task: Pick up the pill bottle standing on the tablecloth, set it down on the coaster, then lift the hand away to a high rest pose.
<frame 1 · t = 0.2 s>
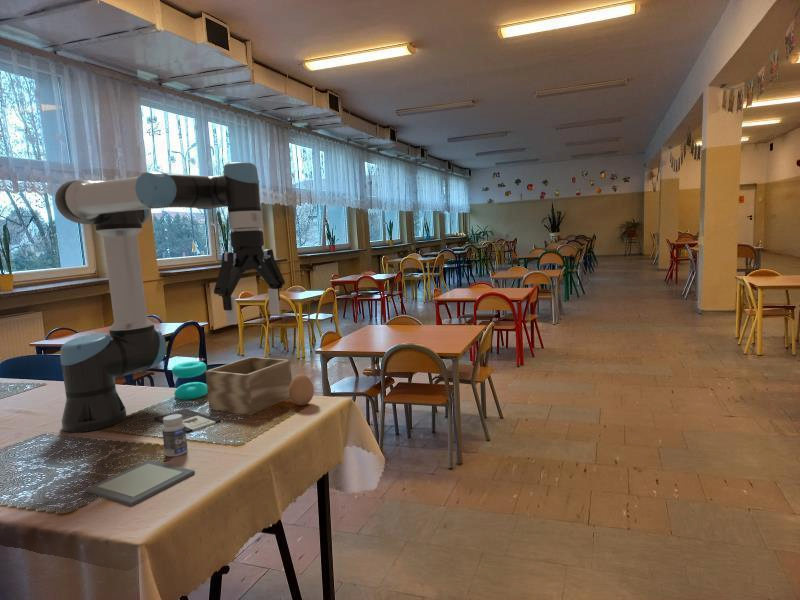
hand: (254, 319, 128), 27 cm above the table, fingers open, 13 cm apart
egg: (302, 405, 149), on the table
coaster: (141, 482, 105), on the table
donuts: (192, 396, 165), on the table
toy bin: (252, 402, 154), on the table
pill bottle: (176, 453, 120), on the table
chocolate bar: (186, 423, 141), on the table
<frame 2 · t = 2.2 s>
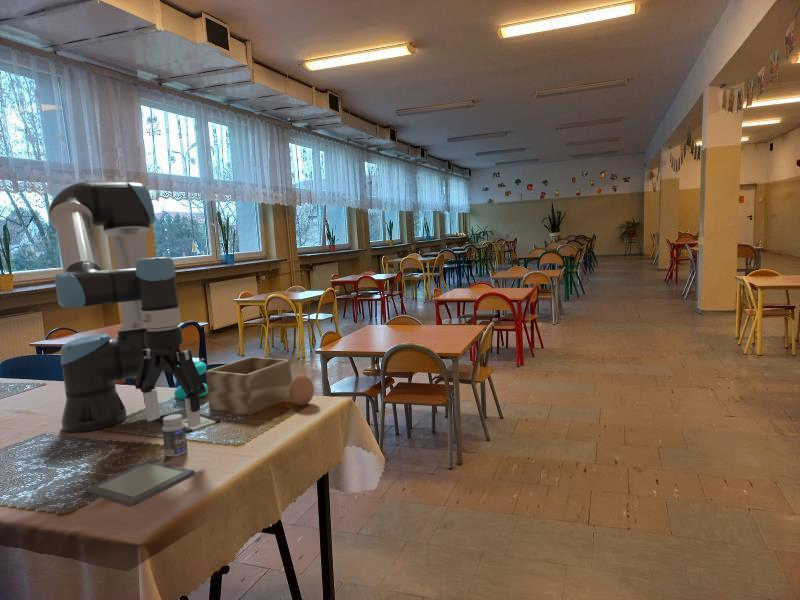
hand: (173, 422, 118), 7 cm above the table, fingers open, 13 cm apart
nothing on the table moved.
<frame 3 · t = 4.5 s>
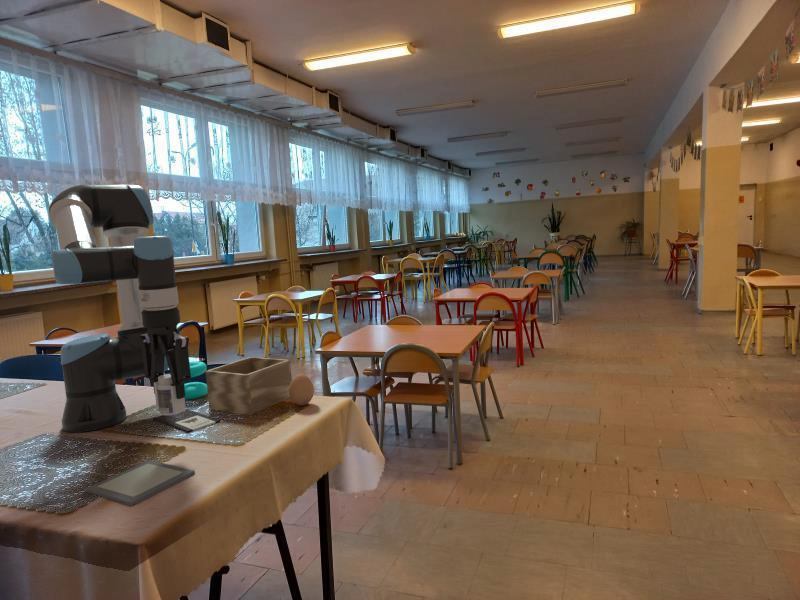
hand: (171, 410, 119), 10 cm above the table, fingers closed on pill bottle, 5 cm apart
pill bottle: (171, 413, 119), point 9 cm above the table, touching gripper
everything else where it was.
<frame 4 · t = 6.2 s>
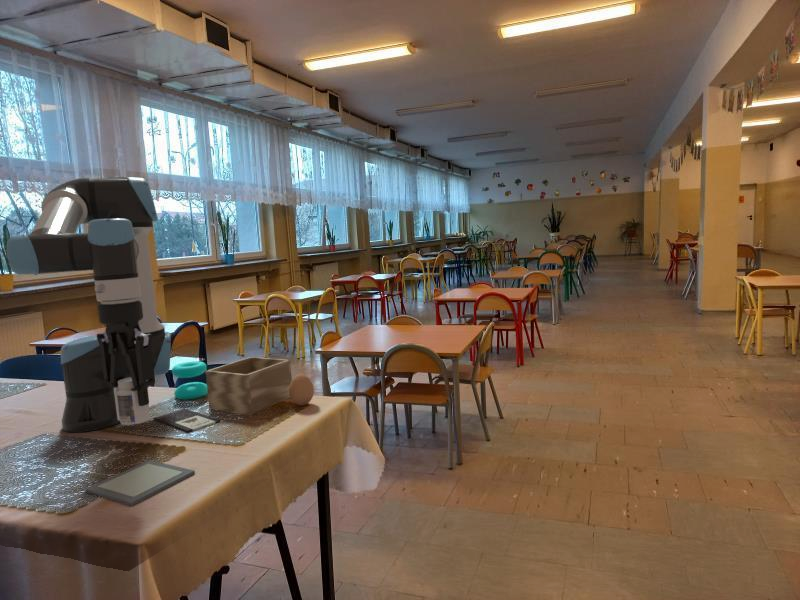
hand: (133, 419, 104), 13 cm above the table, fingers closed on pill bottle, 5 cm apart
pill bottle: (134, 422, 104), point 12 cm above the table, touching gripper
everything else where it was.
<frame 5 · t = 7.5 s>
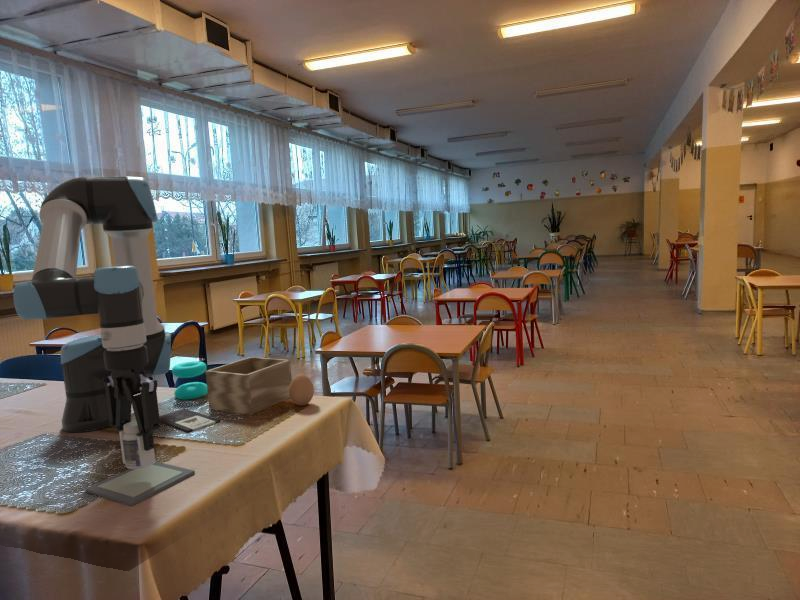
hand: (139, 462, 105), 4 cm above the table, fingers closed on pill bottle, 5 cm apart
pill bottle: (139, 465, 105), point 4 cm above the table, touching gripper
everything else where it was.
when the fingers open (1 cm above the table, at t = 8.3 s): pill bottle stays where it is, resting on coaster.
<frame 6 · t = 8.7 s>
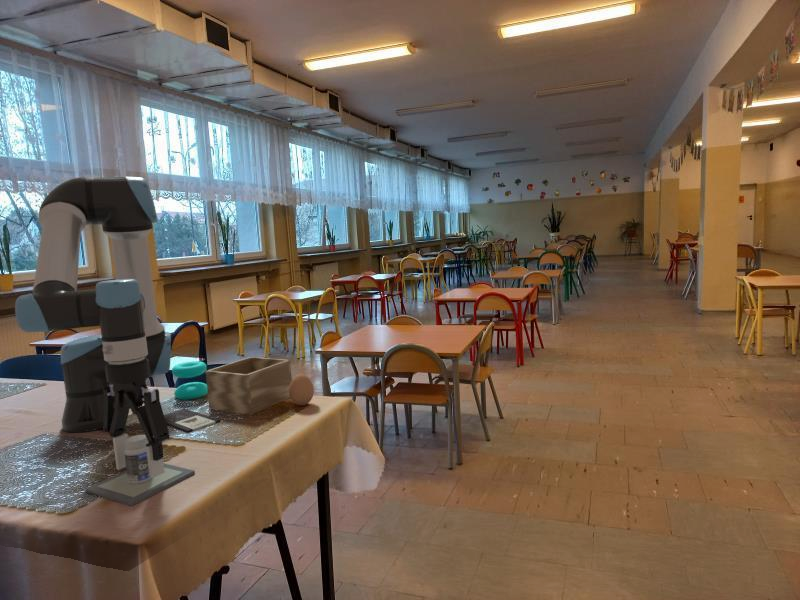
hand: (140, 470, 105), 2 cm above the table, fingers open, 9 cm apart
pill bottle: (141, 479, 105), point 1 cm above the table, touching coaster
everything else where it was.
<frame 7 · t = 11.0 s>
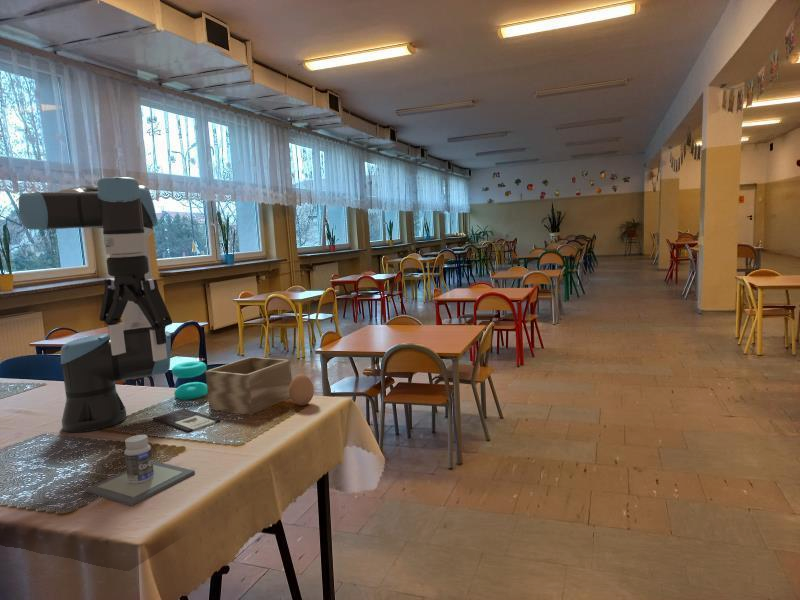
hand: (139, 356, 112), 23 cm above the table, fingers open, 13 cm apart
nothing on the table moved.
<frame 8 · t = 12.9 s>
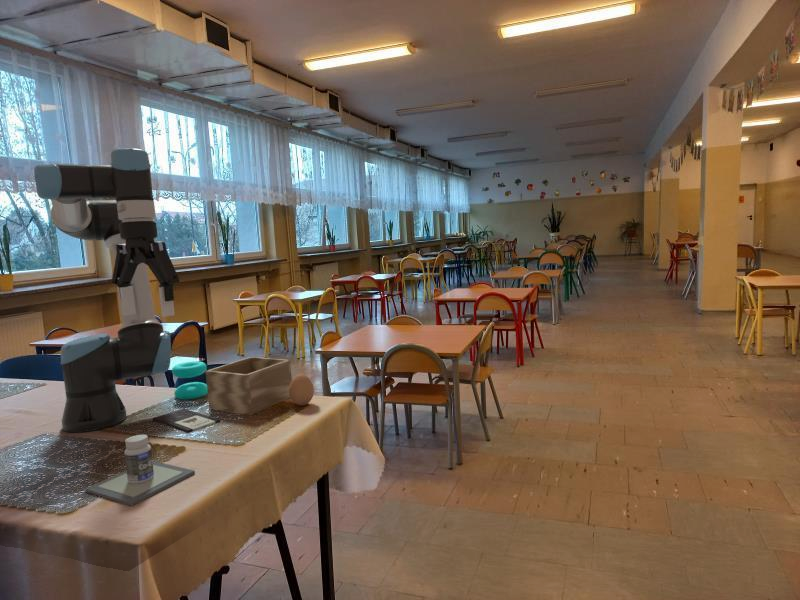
hand: (148, 315, 121), 31 cm above the table, fingers open, 13 cm apart
nothing on the table moved.
at the end: pill bottle inside the target area on the coaster (0.1 cm from its centre), point 0.5 cm above the coaster's base; pill bottle tilted 0°; the gripper is holding nothing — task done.
